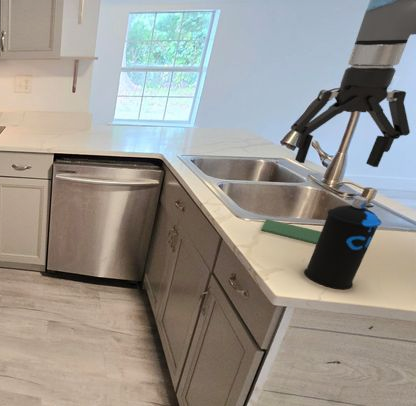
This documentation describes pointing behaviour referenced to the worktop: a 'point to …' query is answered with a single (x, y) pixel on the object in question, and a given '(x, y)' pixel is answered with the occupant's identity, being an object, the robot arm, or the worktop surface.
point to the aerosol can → (342, 244)
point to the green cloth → (291, 231)
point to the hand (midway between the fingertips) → (334, 163)
